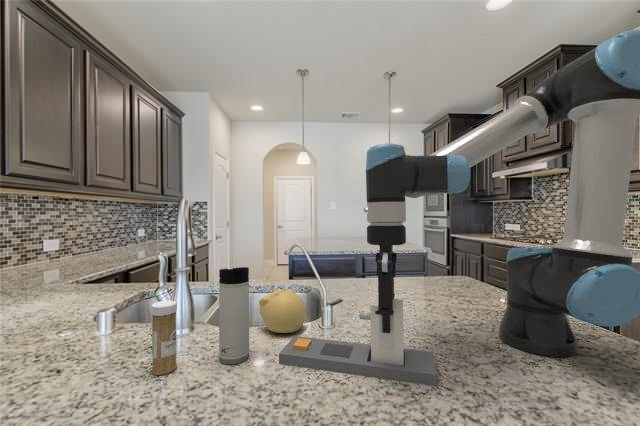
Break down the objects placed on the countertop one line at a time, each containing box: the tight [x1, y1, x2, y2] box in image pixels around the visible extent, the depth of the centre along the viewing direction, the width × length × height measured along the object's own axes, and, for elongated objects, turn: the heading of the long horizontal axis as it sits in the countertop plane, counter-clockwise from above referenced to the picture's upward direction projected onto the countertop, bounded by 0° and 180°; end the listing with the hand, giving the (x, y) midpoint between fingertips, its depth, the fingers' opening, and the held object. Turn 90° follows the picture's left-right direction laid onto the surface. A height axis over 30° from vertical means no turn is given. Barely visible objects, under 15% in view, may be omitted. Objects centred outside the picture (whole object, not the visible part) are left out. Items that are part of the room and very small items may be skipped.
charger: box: [359, 297, 405, 366], centre depth 59 cm, size 8×5×11 cm, turn 74°
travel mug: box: [218, 266, 250, 365], centre depth 65 cm, size 6×7×20 cm
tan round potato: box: [258, 288, 307, 334], centre depth 81 cm, size 12×12×11 cm
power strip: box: [278, 335, 438, 387], centre depth 61 cm, size 30×9×4 cm, turn 74°
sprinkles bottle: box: [150, 299, 178, 376], centre depth 60 cm, size 5×5×14 cm
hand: (387, 341), depth 59 cm, fingers closed on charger, 5 cm apart
